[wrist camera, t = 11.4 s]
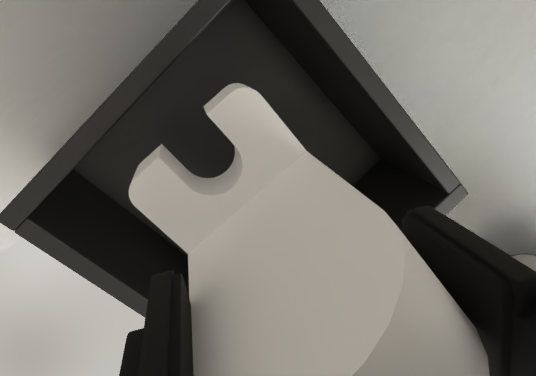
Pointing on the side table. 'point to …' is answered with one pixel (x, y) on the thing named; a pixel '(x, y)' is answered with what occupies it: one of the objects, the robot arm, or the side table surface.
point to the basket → (223, 137)
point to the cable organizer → (298, 263)
